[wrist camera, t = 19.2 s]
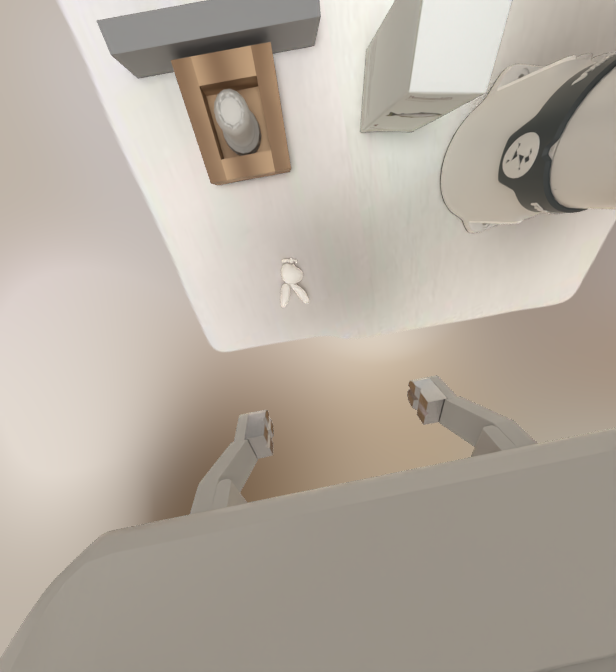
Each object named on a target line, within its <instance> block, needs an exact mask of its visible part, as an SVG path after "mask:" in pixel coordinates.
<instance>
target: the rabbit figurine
mask: <svg viewBox="0 0 616 672" xmlns="http://www.w3.org/2000/svg"><path fill="white" fill-rule="evenodd" d="M281 262H282V263H283V262H290V263H293V262H295V263H296V264H297V259H295V260H294V259H293V258H290V259H283V260H282V261H281ZM290 263H287V264H284V265H283V266H282V268H281V277H282V279H283V280H284V281H285V282H286V283H285V284H283V285H282V288H281V298H280V302H281V307H282V308H284V307H285V306H286V305H287V303H288V302H289V299H290V287H291V288H292V289H293V290H294V291H295V292H296V294H297V295H298V296H299V298H300V299H301V300H302V301H303V302H304V303H306V304H308V303H309V297H308V295H307V294H306V292H305V291H304V290H303V289H302V288H301V287H300V286H298V285H297V284H296V283H298V282H299V281H301V279H302V278H303V272H302V270H301V269H299V268H297V267H296V266H295V264H294V263H293V264H291V265H290ZM289 284H290V286H289Z"/></svg>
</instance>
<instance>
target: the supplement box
mask: <svg viewBox="0 0 616 672" xmlns="http://www.w3.org/2000/svg"><path fill="white" fill-rule="evenodd" d="M512 1H513V0H395V1H394V3H393V5H392V7H391V8H390V10H389V12H388V14H387V15H386V17H385V19H384V20H383V22H382V24H381V26H380V27H379V29H378V31H377V33H376V34H375V36H374V38H373V39H372V41H371V43H370V45H369V46H368V48H367V51H366V63H365V77H364V89H363V102H362V116H361V129H360V131H361V132H375V131H397V132H413V131H415V130H416V129H418V128H421V127H422V126H424V125H426V124H428V123H430V122H432V121H434V120H436V119H438V118H440V117H442V116H444V115H445V114H447V113H449V112H451V111H453V110H455V109H457V108H458V107H460V106H462V105H464V104H466V103H468V102H470V101H472V100H474V99H475V98H477V97H479V96H481V95H483V94H485V93H486V92H487V88H488V85H489V81H490V78H491V74H492V71H493V67H494V64H495V60H496V57H497V53H498V50H499V46H500V43H501V39H502V36H503V32H504V28H505V25H506V21H507V17H508V14H509V11H510V7H511V4H512Z"/></svg>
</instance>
